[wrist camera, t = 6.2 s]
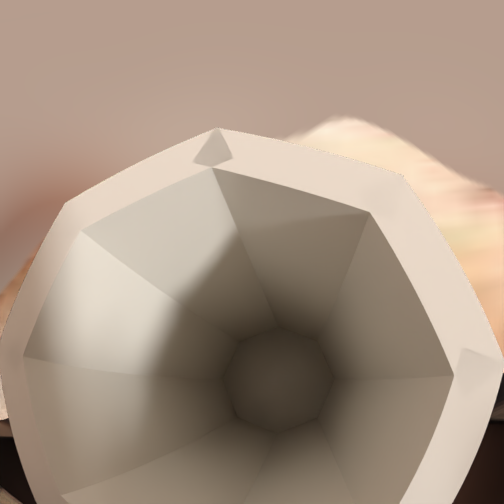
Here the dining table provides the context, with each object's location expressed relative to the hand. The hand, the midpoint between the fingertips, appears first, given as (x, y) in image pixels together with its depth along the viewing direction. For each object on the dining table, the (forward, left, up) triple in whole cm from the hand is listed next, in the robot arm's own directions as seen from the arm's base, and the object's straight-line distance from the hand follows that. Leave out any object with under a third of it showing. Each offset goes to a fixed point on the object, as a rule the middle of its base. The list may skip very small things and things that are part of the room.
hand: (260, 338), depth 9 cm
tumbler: (0, -1, -7) cm, 7 cm away
